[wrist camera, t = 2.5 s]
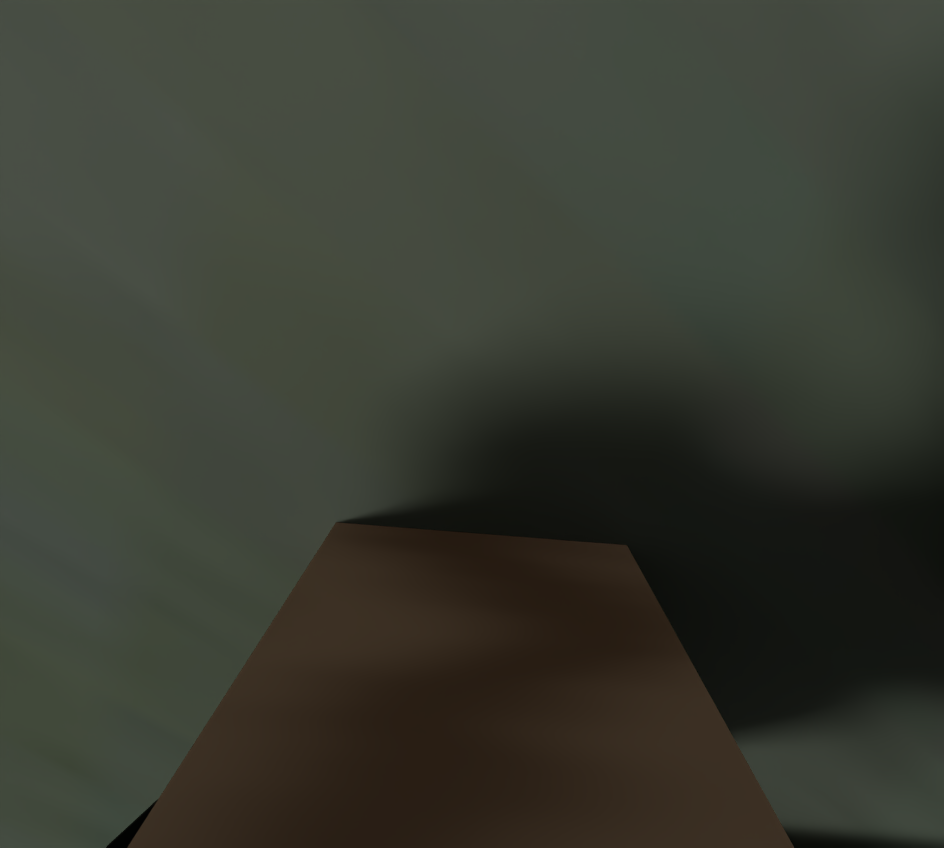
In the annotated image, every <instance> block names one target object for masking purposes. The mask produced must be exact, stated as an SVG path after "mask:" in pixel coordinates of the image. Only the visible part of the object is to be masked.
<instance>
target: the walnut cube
mask: <svg viewBox="0 0 944 848" xmlns="http://www.w3.org/2000/svg"><path fill="white" fill-rule="evenodd" d="M127 848H794V846H793V845H792V843H791V841H790V839H789V837H788V836H787V834H786V832H785V830H784V828H783V827H782V825H781V823H780V821H779V819H778V818H777V816H776V814H775V812H774V810H773V808H772V807H771V805H770V803H769V801H768V799H767V798H766V796H765V794H764V792H763V790H762V789H761V787H760V785H759V783H758V781H757V780H756V778H755V776H754V774H753V772H752V771H751V769H750V767H749V765H748V763H747V761H746V760H745V758H744V756H743V754H742V752H741V751H740V749H739V747H738V745H737V743H736V742H735V740H734V738H733V736H732V734H731V733H730V731H729V729H728V727H727V725H726V724H725V722H724V720H723V718H722V716H721V714H720V713H719V711H718V709H717V707H716V705H715V704H714V702H713V700H712V698H711V696H710V695H709V693H708V691H707V689H706V687H705V686H704V684H703V682H702V680H701V678H700V677H699V675H698V673H697V671H696V669H695V667H694V666H693V664H692V662H691V660H690V658H689V657H688V655H687V653H686V651H685V649H684V648H683V646H682V644H681V642H680V640H679V639H678V637H677V635H676V633H675V631H674V630H673V628H672V626H671V624H670V622H669V621H668V619H667V617H666V615H665V613H664V611H663V610H662V608H661V606H660V604H659V602H658V601H657V599H656V597H655V595H654V593H653V592H652V590H651V588H650V586H649V584H648V583H647V581H646V579H645V577H644V575H643V574H642V572H641V570H640V568H639V566H638V564H637V563H636V561H635V559H634V557H633V555H632V554H631V552H630V550H629V548H628V546H627V545H618V544H606V543H593V542H580V541H567V540H554V539H542V538H529V537H516V536H503V535H490V534H478V533H465V532H452V531H439V530H426V529H414V528H401V527H388V526H375V525H363V524H350V523H337V522H336V523H335V525H334V526H333V528H332V530H331V531H330V533H329V534H328V536H327V537H326V539H325V540H324V542H323V544H322V545H321V547H320V548H319V550H318V551H317V553H316V554H315V556H314V558H313V559H312V561H311V562H310V564H309V565H308V567H307V569H306V570H305V572H304V573H303V575H302V576H301V578H300V579H299V581H298V583H297V584H296V586H295V587H294V589H293V590H292V592H291V593H290V595H289V597H288V598H287V600H286V601H285V603H284V604H283V606H282V607H281V609H280V611H279V612H278V614H277V615H276V617H275V618H274V620H273V621H272V623H271V625H270V626H269V628H268V629H267V631H266V632H265V634H264V635H263V637H262V639H261V640H260V642H259V643H258V645H257V646H256V648H255V650H254V651H253V653H252V654H251V656H250V657H249V659H248V660H247V662H246V664H245V665H244V667H243V668H242V670H241V671H240V673H239V674H238V676H237V678H236V679H235V681H234V682H233V684H232V685H231V687H230V688H229V690H228V692H227V693H226V695H225V696H224V698H223V699H222V701H221V702H220V704H219V706H218V707H217V709H216V710H215V712H214V713H213V715H212V717H211V718H210V720H209V721H208V723H207V724H206V726H205V727H204V729H203V731H202V732H201V734H200V735H199V737H198V738H197V740H196V741H195V743H194V745H193V746H192V748H191V749H190V751H189V752H188V754H187V755H186V757H185V759H184V760H183V762H182V763H181V765H180V766H179V768H178V769H177V771H176V773H175V774H174V776H173V777H172V779H171V780H170V782H169V784H168V785H167V787H166V788H165V790H164V791H163V793H162V794H161V796H160V798H159V799H158V801H157V802H156V804H155V805H154V807H153V808H152V810H151V812H150V813H149V815H148V816H147V818H146V819H145V821H144V822H143V824H142V826H141V827H140V829H139V830H138V832H137V833H136V835H135V836H134V838H133V840H132V841H131V843H130V844H129V846H128V847H127Z"/></svg>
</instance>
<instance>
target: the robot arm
mask: <svg viewBox="0 0 944 848" xmlns="http://www.w3.org/2000/svg"><path fill="white" fill-rule="evenodd" d="M157 801H158V800H157ZM157 801H155V802H154V803H153V804H152V805H151V806H150V807H149V808H148V809H147V810H146V811H145V812H143V813H142V814H141V815H140V816H139V817H138V818H137V819H136V820H135V821H134V822H133V823H131V824H130V825H129V826H128V827H127V828H126V829H125V830H124V831H123V832H122V833H121V834H120V835H118V836H117V837H116V838H115V839H114V840H113V841H112V842H111V843H110V844H109V845H108V846H107V847H106V848H127V847H128V846H129V844H130V843H131V841H132V840H133V838H134V836H135V835H136V833H137V832H138V830H139V829H140V827H141V826H142V824H143V822H144V821H145V819H146V818H147V816H148V815H149V813H150V812H151V810H152V808H153V807H154V805H155V804H156V802H157Z"/></svg>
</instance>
